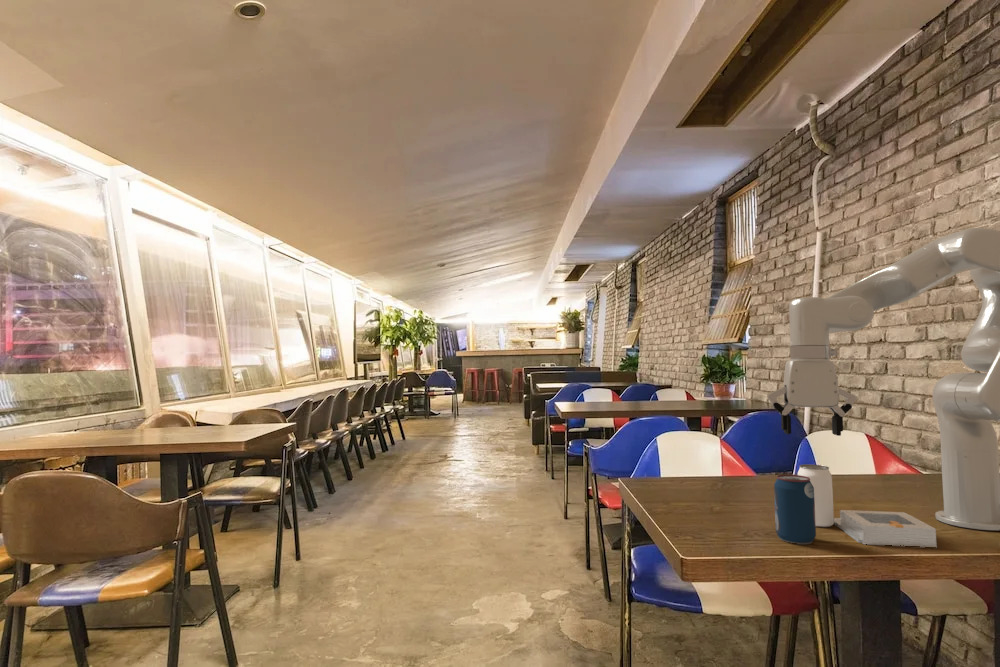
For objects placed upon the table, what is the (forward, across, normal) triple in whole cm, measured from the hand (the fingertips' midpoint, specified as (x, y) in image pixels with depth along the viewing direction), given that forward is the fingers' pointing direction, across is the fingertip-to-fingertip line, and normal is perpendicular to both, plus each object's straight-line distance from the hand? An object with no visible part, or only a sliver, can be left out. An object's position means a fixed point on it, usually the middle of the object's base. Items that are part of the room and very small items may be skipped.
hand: (811, 434), depth 123 cm
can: (+19, 0, 0) cm, 19 cm away
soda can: (+19, +7, +13) cm, 24 cm away
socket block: (+19, -10, +6) cm, 22 cm away
